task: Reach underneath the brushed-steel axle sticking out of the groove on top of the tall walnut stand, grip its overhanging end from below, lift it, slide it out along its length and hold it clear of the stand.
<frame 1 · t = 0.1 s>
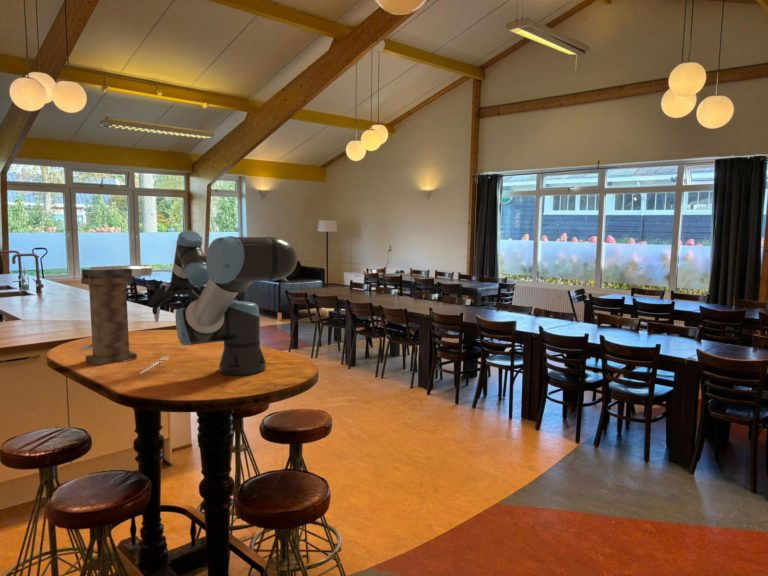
hand: (176, 318, 191), 15 cm above the table, tool tilted 35°, fingers open, 13 cm apart
walnut stand: (111, 360, 192), on the table
steel axle: (122, 276, 193), point 30 cm above the table, touching walnut stand
fork: (153, 368, 182), on the table
metal bracket: (107, 348, 216), on the table
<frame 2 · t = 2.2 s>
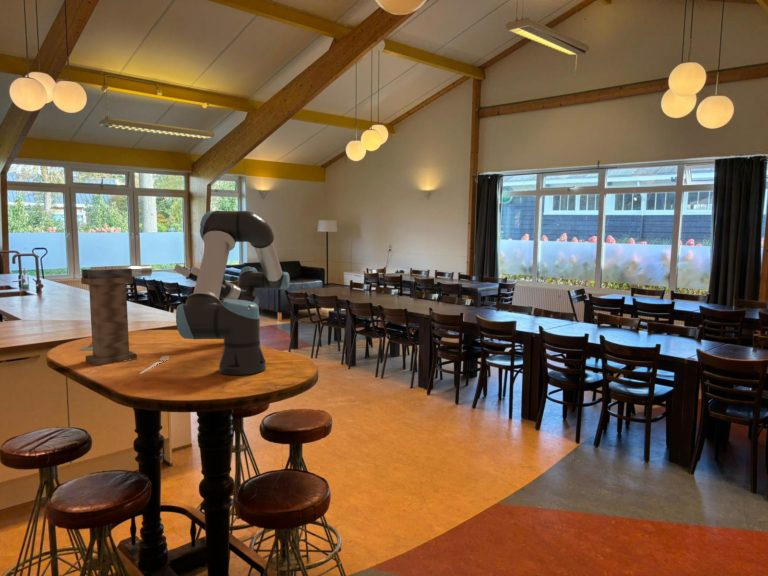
hand: (183, 268, 208), 32 cm above the table, tool pointing upward, fingers open, 13 cm apart
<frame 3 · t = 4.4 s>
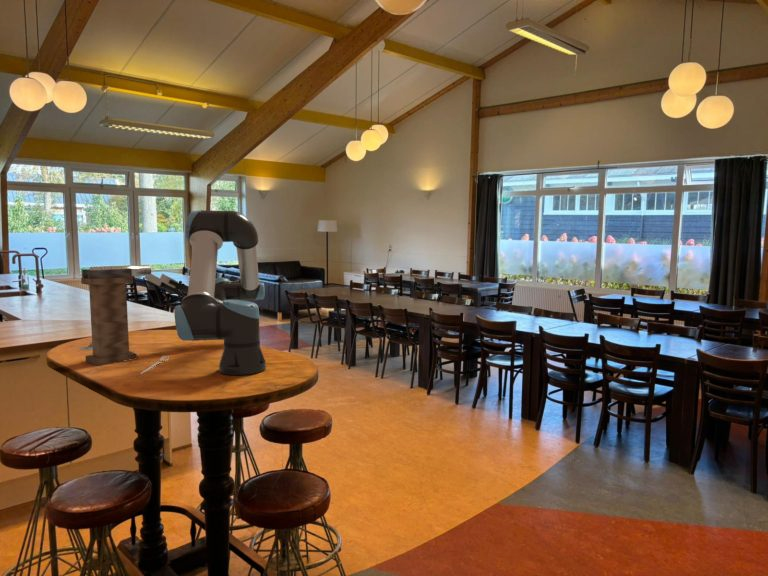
hand: (153, 276, 201), 30 cm above the table, tool pointing upward, fingers open, 13 cm apart
steel axle: (121, 276, 193), point 30 cm above the table, tilted 10°, touching walnut stand
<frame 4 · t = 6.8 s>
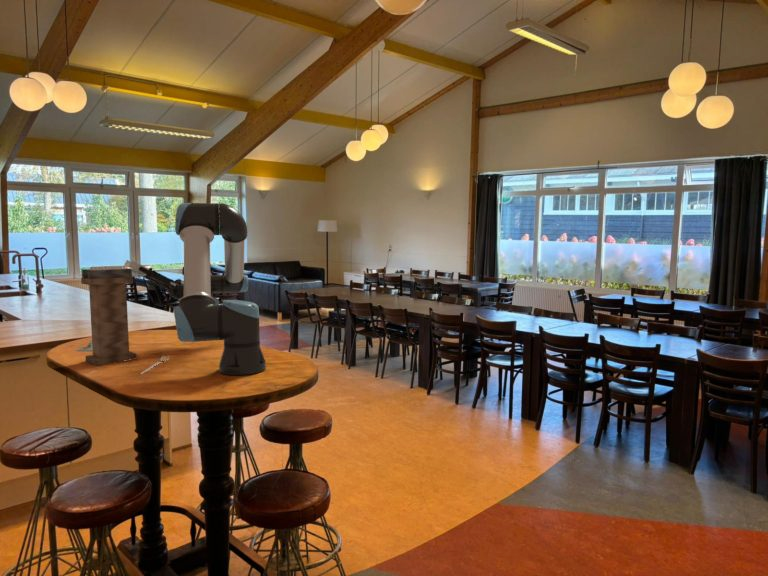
hand: (128, 263, 194), 35 cm above the table, tool pointing upward, fingers closed on steel axle, 4 cm apart
steel axle: (121, 276, 193), point 30 cm above the table, touching gripper, walnut stand
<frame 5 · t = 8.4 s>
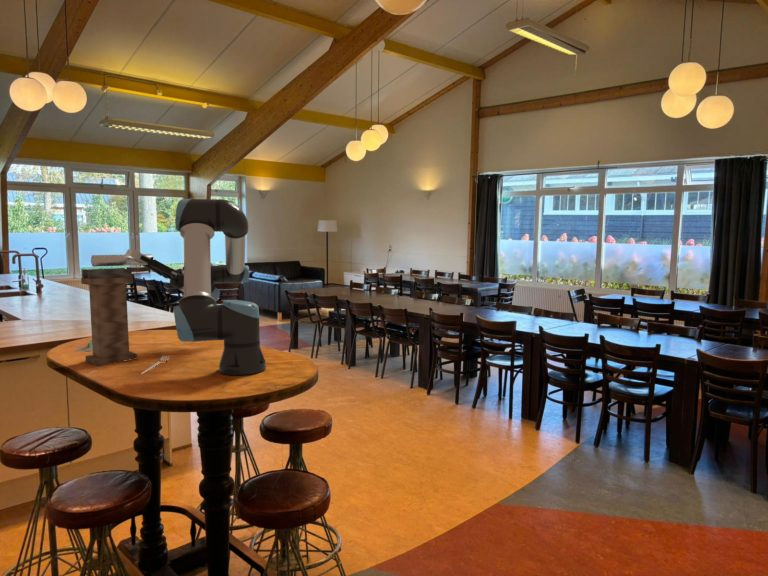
hand: (129, 252, 194), 39 cm above the table, tool pointing upward, fingers closed on steel axle, 4 cm apart
steel axle: (123, 265, 193), point 34 cm above the table, touching gripper
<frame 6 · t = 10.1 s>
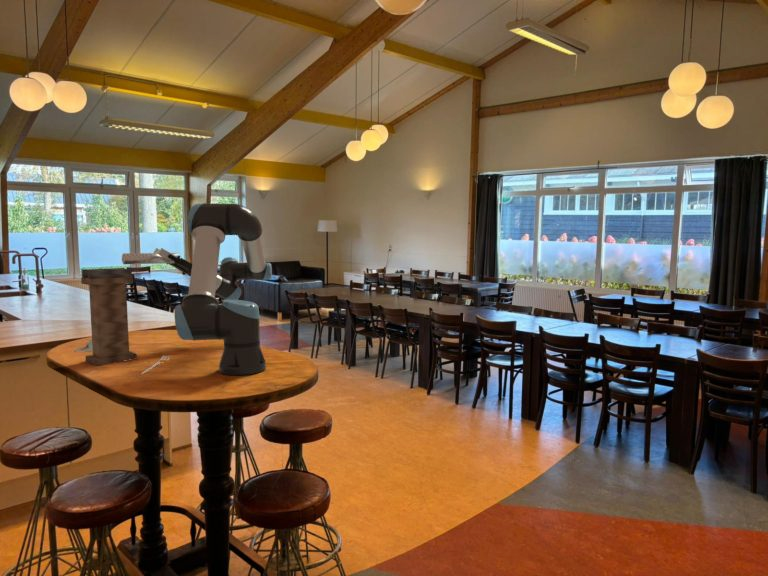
hand: (157, 251, 202), 39 cm above the table, tool pointing upward, fingers closed on steel axle, 4 cm apart
steel axle: (151, 263, 201), point 34 cm above the table, touching gripper
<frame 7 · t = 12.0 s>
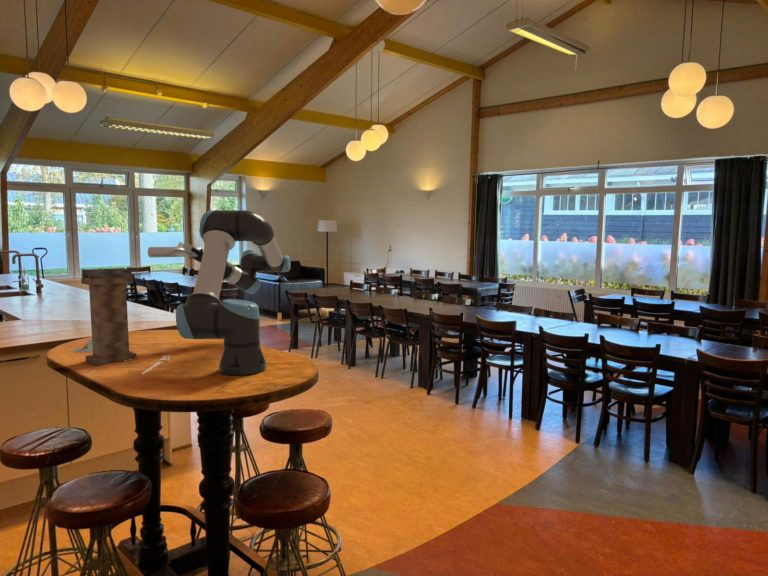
hand: (181, 245, 210), 41 cm above the table, tool pointing upward, fingers closed on steel axle, 4 cm apart
steel axle: (175, 257, 209), point 37 cm above the table, touching gripper
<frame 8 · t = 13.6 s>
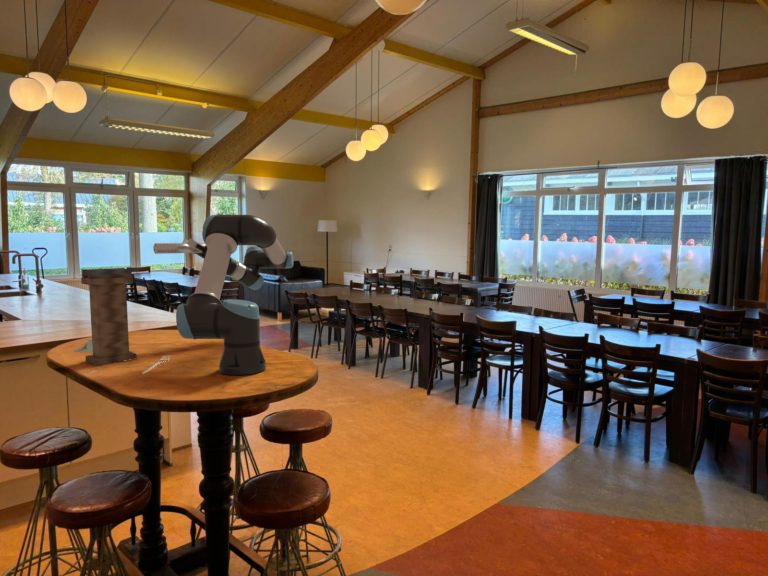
hand: (186, 241, 213), 43 cm above the table, tool pointing upward, fingers closed on steel axle, 4 cm apart
steel axle: (180, 253, 212), point 38 cm above the table, touching gripper
at the end: the gripper is holding steel axle; steel axle touching gripper; steel axle moved 25.7 cm from its start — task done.
